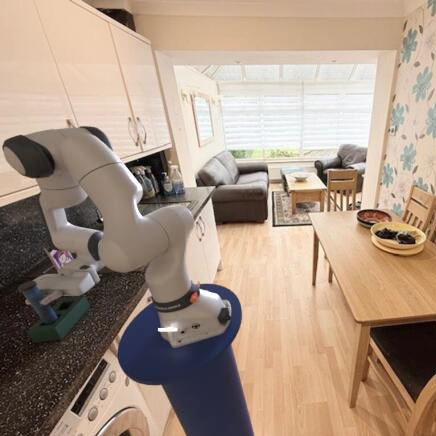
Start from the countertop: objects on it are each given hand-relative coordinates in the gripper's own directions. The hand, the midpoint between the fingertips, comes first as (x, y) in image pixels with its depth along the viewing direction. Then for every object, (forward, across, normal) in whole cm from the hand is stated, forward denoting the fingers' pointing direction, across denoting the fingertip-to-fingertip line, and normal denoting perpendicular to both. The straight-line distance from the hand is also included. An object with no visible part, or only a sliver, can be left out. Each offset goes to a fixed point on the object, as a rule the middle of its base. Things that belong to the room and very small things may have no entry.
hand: (35, 303), depth 73 cm
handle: (-1, 0, +8) cm, 9 cm away
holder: (-4, 0, +13) cm, 14 cm away
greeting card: (-29, -25, +13) cm, 41 cm away
